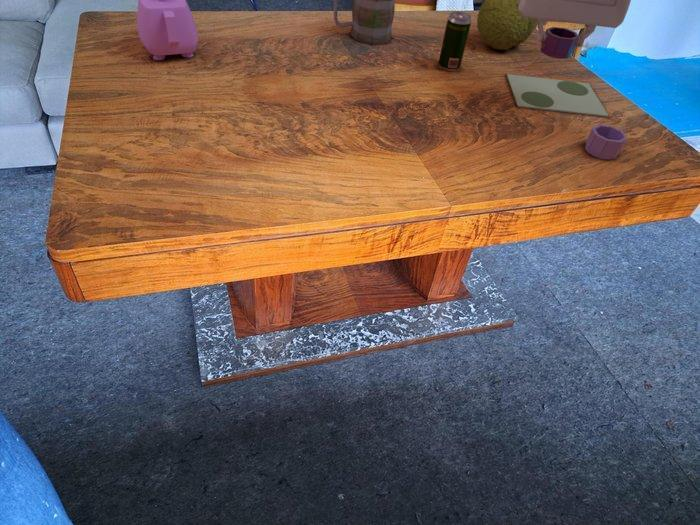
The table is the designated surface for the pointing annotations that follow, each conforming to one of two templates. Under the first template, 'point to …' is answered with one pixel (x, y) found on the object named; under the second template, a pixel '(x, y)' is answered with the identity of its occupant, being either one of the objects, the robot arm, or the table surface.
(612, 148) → the lavender dish
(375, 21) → the mug
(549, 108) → the mat
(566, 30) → the plum dish
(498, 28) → the fruit
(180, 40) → the pink rounded piece
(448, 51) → the beer can
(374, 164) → the table surface
